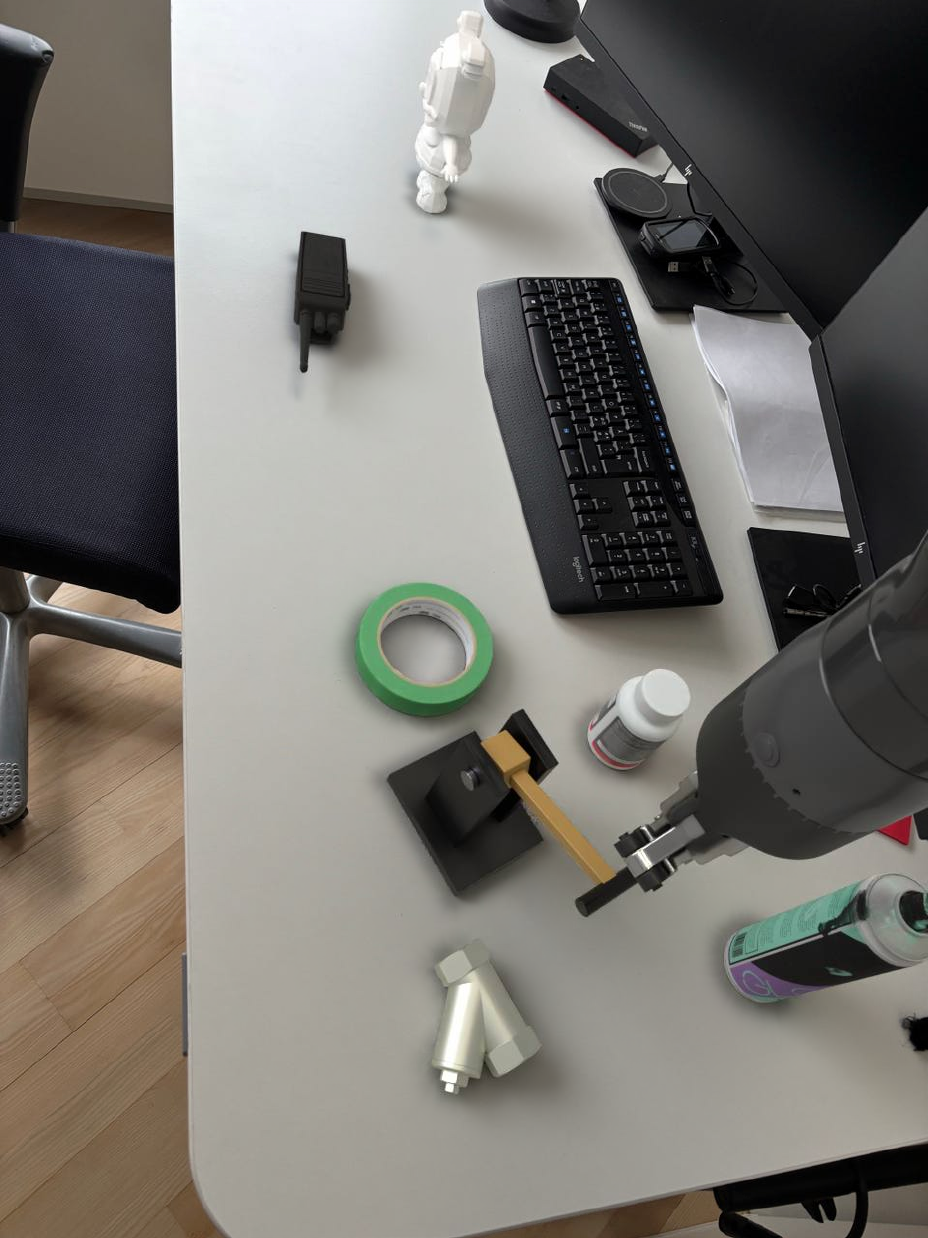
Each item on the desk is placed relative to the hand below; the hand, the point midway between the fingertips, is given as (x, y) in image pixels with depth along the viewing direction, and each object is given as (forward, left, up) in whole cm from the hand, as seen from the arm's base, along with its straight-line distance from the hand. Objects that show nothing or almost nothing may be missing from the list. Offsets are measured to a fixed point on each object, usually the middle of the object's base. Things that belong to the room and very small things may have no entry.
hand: (649, 854), depth 50 cm
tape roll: (+23, -4, -21) cm, 31 cm away
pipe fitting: (-2, +8, -21) cm, 22 cm away
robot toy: (+74, -36, -21) cm, 85 cm away
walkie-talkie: (+59, -13, -21) cm, 64 cm away
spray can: (-11, -14, -21) cm, 27 cm away
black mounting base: (+10, 0, -20) cm, 23 cm away
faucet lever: (+5, 0, -9) cm, 10 cm away
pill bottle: (+9, -15, -21) cm, 27 cm away
